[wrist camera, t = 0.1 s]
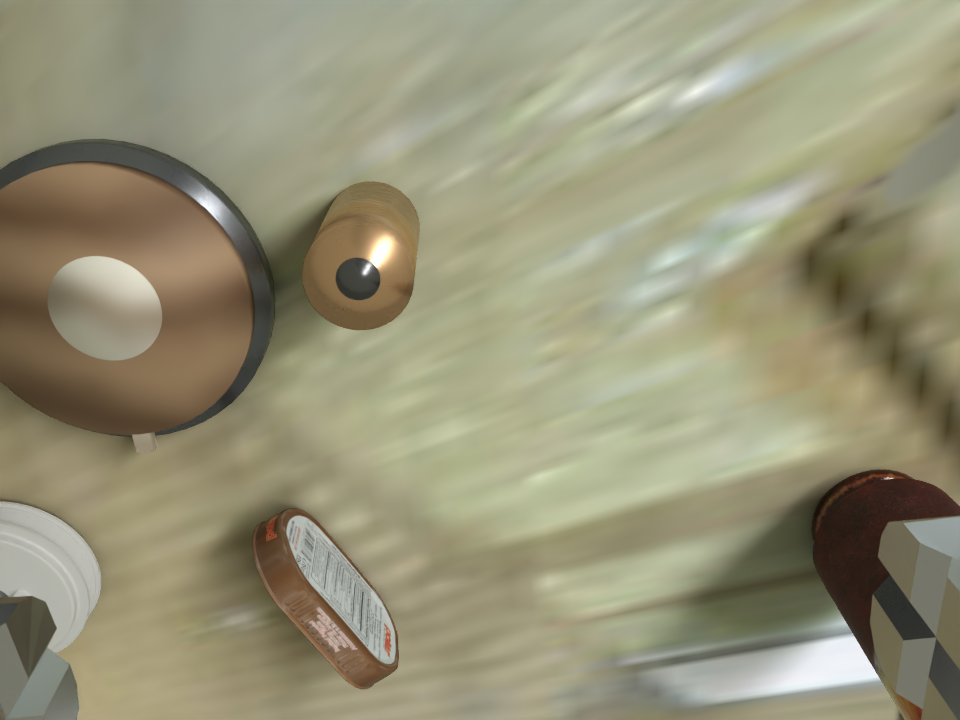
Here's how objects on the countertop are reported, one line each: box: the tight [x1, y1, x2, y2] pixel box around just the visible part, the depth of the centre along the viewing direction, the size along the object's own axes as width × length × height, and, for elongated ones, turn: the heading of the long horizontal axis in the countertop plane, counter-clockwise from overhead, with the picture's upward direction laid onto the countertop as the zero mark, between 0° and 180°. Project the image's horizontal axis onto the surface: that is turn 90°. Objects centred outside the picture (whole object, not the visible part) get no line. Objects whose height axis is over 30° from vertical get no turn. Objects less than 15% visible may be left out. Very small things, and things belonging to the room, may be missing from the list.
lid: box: [0, 502, 101, 653], centre depth 64 cm, size 13×13×5 cm
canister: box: [302, 182, 420, 330], centre depth 51 cm, size 6×6×10 cm
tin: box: [252, 508, 399, 689], centre depth 63 cm, size 15×3×8 cm, turn 32°
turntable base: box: [0, 139, 275, 437], centre depth 57 cm, size 20×20×2 cm
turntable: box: [0, 161, 255, 453], centre depth 55 cm, size 20×18×1 cm
